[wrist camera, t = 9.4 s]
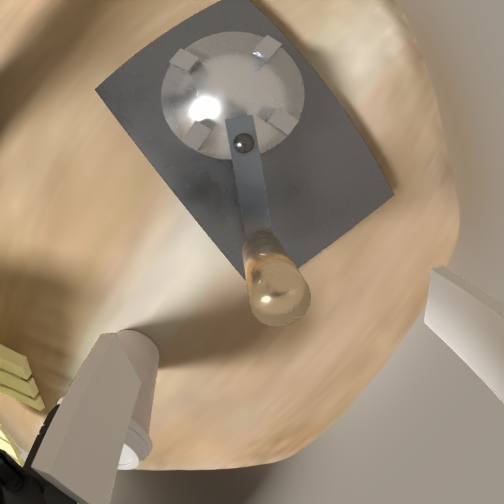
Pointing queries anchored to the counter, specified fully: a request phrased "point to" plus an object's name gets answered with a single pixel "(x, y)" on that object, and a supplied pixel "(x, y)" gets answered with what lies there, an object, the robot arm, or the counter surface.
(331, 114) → the plate
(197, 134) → the lever with amber grip
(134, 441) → the coffee cup
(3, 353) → the slatted curved stool
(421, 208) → the counter surface
